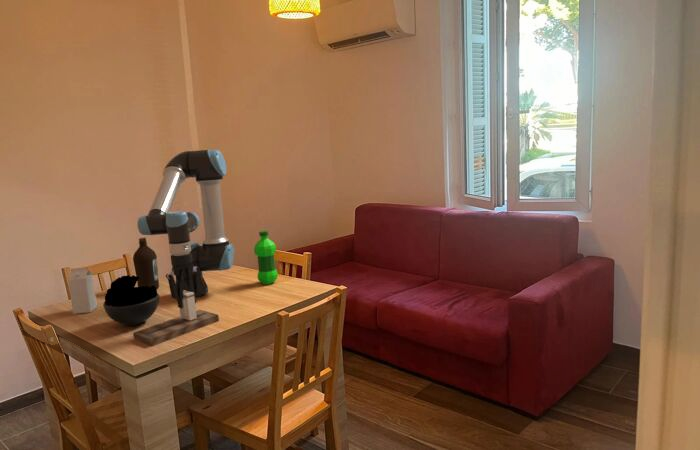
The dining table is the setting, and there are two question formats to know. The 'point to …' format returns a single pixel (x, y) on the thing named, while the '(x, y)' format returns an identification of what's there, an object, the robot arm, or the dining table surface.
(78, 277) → the milk carton
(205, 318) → the dark brown wooden board
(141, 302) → the coal bowl
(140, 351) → the dining table surface
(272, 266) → the plastic bottle
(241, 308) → the dining table surface
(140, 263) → the olive oil
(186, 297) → the fader tab
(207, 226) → the robot arm
